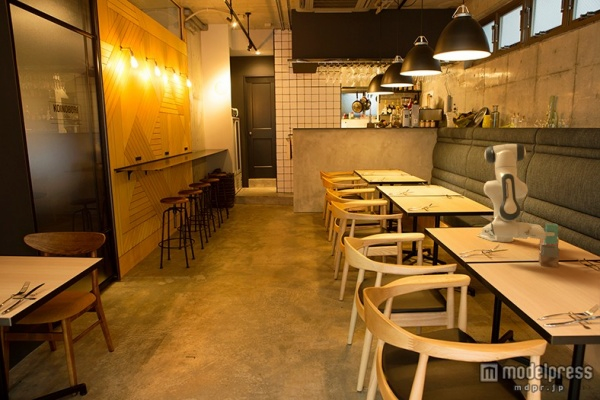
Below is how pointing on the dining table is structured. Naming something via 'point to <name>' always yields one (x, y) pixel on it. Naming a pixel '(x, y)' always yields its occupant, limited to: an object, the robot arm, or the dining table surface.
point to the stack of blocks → (546, 243)
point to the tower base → (548, 261)
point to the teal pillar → (551, 228)
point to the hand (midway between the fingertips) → (553, 232)
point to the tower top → (550, 251)
